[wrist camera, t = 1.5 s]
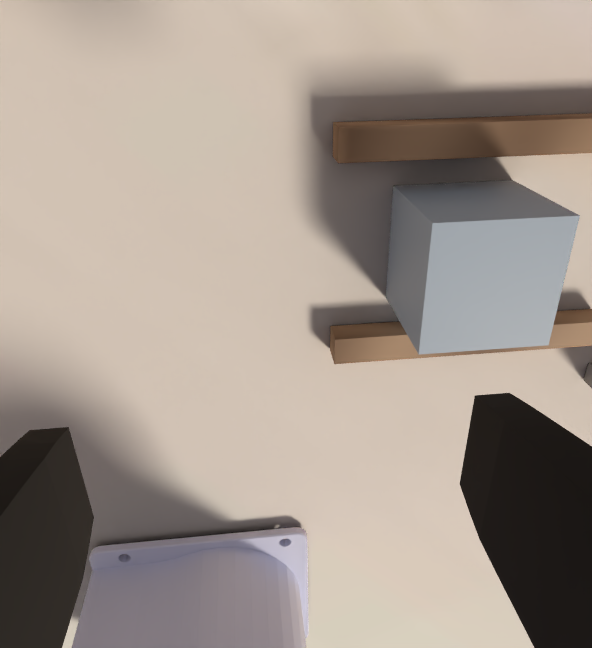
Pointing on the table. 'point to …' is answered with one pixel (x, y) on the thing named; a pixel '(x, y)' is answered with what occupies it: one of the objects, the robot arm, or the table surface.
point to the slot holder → (449, 143)
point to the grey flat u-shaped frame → (588, 375)
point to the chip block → (477, 264)
